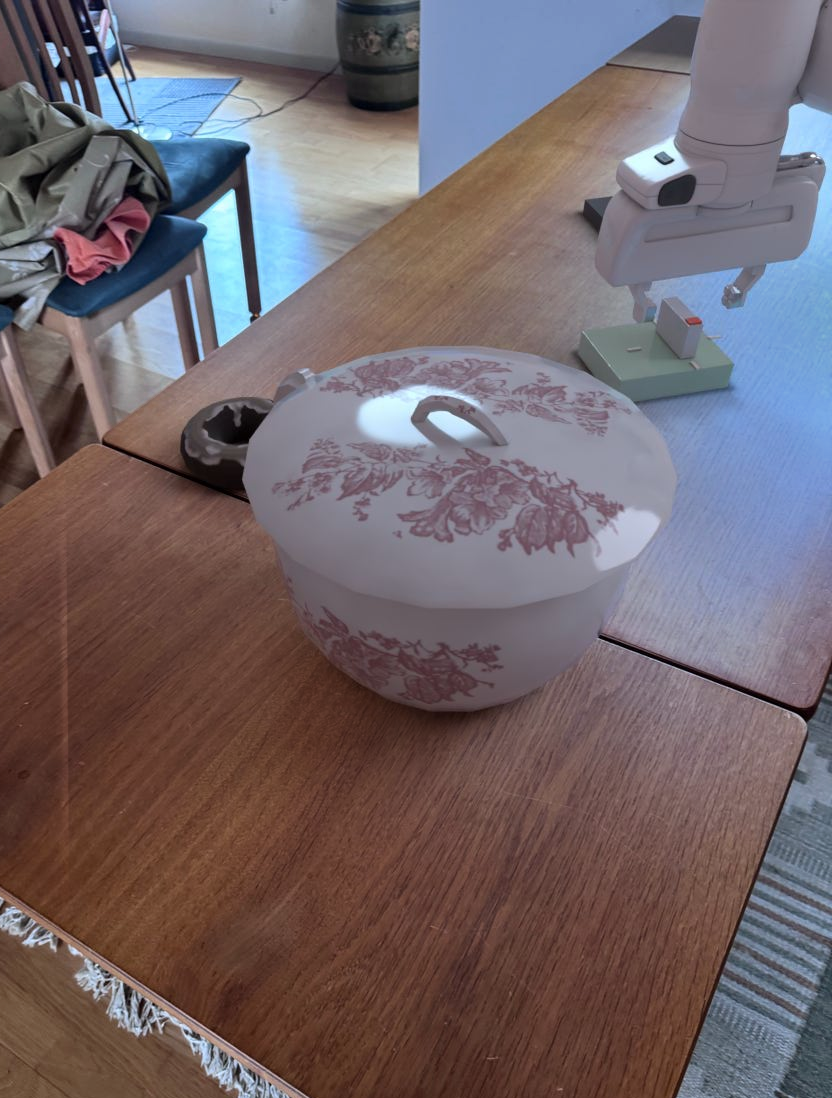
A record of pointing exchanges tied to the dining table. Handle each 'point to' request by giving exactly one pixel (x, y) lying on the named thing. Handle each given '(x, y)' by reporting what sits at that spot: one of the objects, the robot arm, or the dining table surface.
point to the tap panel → (651, 362)
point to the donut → (222, 439)
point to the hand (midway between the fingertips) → (687, 313)
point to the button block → (596, 210)
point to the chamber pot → (456, 516)
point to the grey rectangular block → (679, 327)
